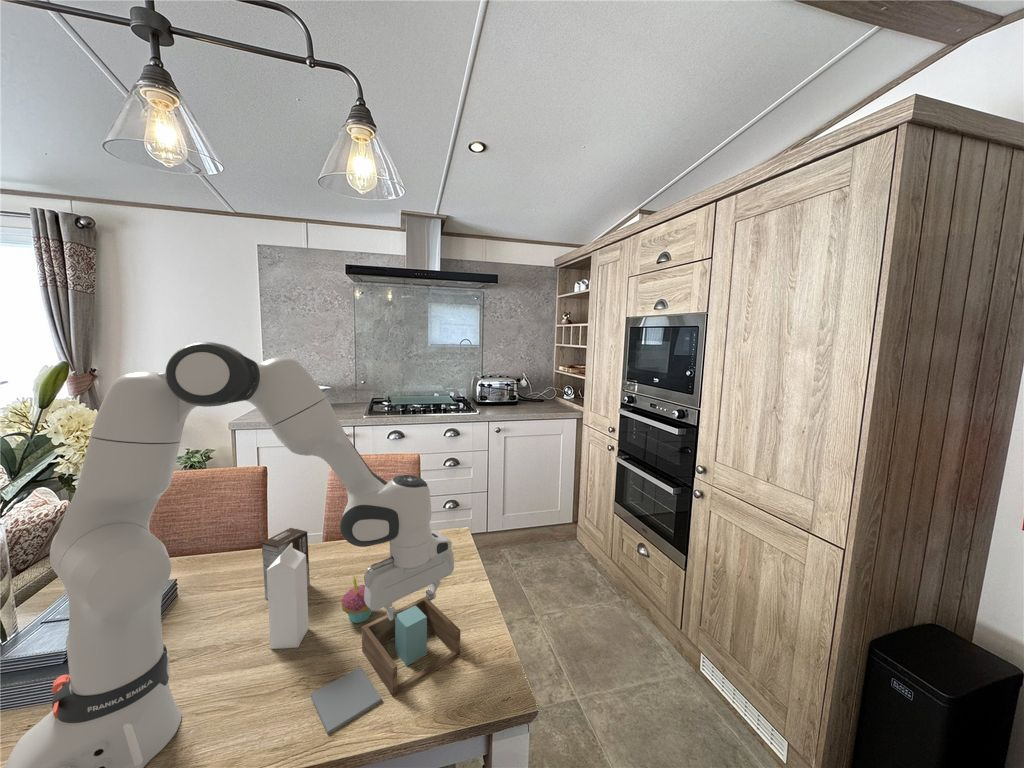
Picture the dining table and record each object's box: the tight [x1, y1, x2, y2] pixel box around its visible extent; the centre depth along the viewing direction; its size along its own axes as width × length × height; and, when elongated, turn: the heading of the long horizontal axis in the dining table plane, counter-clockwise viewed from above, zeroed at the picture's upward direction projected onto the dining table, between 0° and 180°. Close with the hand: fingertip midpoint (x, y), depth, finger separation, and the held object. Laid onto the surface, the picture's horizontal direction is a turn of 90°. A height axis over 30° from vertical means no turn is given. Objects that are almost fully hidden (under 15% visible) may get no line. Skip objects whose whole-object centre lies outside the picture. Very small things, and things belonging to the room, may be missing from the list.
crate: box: [361, 596, 461, 697], centre depth 89 cm, size 16×15×6 cm
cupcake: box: [341, 576, 372, 624], centre depth 99 cm, size 9×8×12 cm
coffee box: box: [261, 527, 311, 600], centre depth 108 cm, size 9×6×16 cm
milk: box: [267, 543, 310, 650], centre depth 91 cm, size 6×6×22 cm
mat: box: [310, 666, 383, 735], centre depth 77 cm, size 10×10×1 cm
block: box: [394, 605, 428, 667], centre depth 88 cm, size 5×5×9 cm
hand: (412, 607), depth 88 cm, fingers open, 8 cm apart
